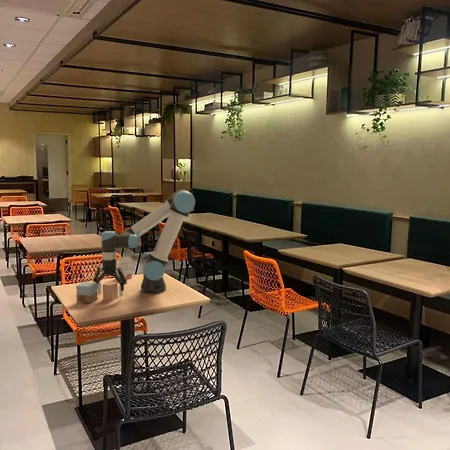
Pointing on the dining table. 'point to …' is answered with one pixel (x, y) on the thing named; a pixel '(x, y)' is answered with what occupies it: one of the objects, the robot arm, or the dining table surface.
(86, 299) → the tower base block
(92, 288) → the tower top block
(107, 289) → the terracotta block
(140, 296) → the dining table surface
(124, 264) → the ink cartridge box
